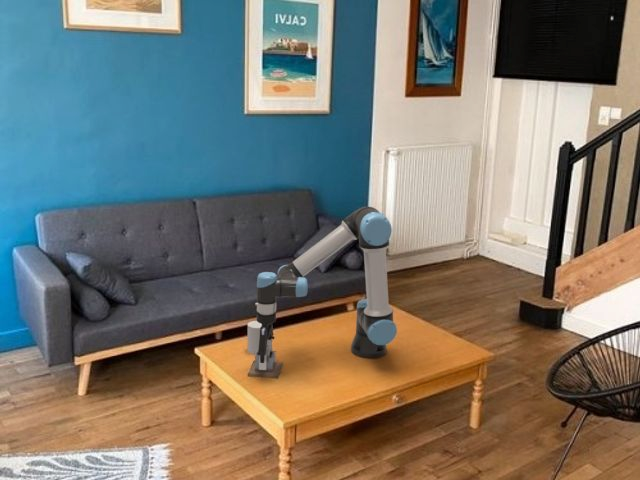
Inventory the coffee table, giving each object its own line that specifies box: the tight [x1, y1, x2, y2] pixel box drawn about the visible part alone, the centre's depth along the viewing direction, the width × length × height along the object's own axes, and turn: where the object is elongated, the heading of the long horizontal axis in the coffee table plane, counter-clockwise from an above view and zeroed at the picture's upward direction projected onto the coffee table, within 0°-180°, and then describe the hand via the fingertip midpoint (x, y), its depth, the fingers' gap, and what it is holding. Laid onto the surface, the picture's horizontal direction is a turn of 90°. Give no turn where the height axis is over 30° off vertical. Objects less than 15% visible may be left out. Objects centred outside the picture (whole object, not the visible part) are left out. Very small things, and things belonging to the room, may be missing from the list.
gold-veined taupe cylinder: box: [246, 320, 262, 356], centre depth 287 cm, size 8×8×12 cm
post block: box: [247, 345, 284, 379], centre depth 269 cm, size 12×12×10 cm
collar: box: [254, 350, 277, 372], centre depth 269 cm, size 7×7×6 cm
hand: (265, 362), depth 269 cm, fingers open, 13 cm apart
